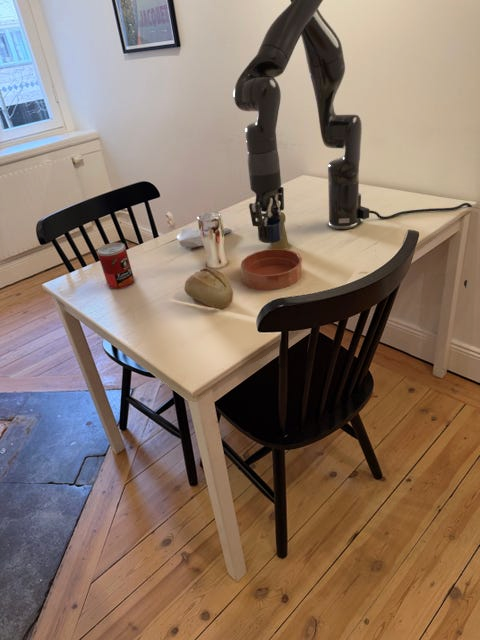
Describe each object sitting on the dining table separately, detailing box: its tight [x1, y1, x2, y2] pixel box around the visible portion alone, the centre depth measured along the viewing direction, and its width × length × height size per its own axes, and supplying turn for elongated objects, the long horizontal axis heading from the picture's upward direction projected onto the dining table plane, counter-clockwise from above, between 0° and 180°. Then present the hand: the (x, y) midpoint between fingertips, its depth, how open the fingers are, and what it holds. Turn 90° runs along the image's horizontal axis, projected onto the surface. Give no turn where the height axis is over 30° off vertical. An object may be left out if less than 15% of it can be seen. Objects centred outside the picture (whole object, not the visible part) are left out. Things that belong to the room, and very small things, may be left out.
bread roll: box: [184, 267, 234, 310], centre depth 118 cm, size 10×15×8 cm, turn 46°
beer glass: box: [197, 211, 228, 269], centre depth 134 cm, size 7×7×15 cm
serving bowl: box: [240, 248, 304, 291], centre depth 126 cm, size 16×16×5 cm
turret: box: [176, 227, 232, 249], centre depth 153 cm, size 10×20×5 cm, turn 136°
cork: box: [269, 211, 289, 249], centre depth 140 cm, size 6×6×11 cm
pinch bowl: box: [257, 217, 283, 244], centre depth 120 cm, size 6×6×5 cm
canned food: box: [97, 242, 135, 290], centre depth 132 cm, size 8×8×11 cm
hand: (270, 233), depth 121 cm, fingers closed on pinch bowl, 6 cm apart
